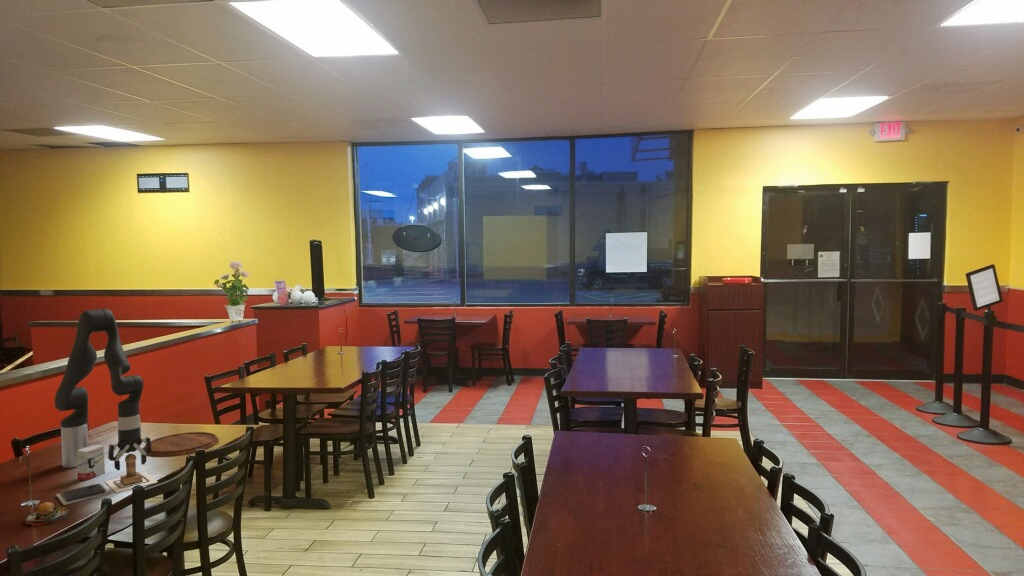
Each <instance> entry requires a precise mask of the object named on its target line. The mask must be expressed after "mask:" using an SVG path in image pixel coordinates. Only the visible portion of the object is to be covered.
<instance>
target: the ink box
mask: <svg viewBox="0 0 1024 576" xmlns="http://www.w3.org/2000/svg"><path fill="white" fill-rule="evenodd" d="M105 467H106V464H105V445H100V444H99V445H98V444H91V445H90V446H89V445H88V447H86V448H83V449H80V450H78V451H77V467H76V472H77V480H79V481H80V480H82V481H89V480H91V479H94V478H96V477H100V476H101V475H103V474H106V468H105Z"/></svg>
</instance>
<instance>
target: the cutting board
mask: <svg viewBox="0 0 1024 576" xmlns="http://www.w3.org/2000/svg"><path fill="white" fill-rule="evenodd" d="M150 441H151V450H152V451H151V452H150V453H147V454H146V457H147V456H148V457H156V458H167V457H168V458H170V457H180V456H185V455H186V456H187V455H191V454H195V453H194V452H195V450H196V449H199V448H202V449H205V450H204V451H206V450H209V449H211V448H214V447H215V446H217V445H218V444H219V443H220V438H219V437H218V436H217V435H216V434H215V433H211V432H205V431H189V432H181V433H174V434H169V435H165V436H162V437H161V436H160V437H158V438H155V439H152V440H150ZM142 449H143V450H146V444H145V445H144V447H142Z"/></svg>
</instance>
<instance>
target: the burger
mask: <svg viewBox="0 0 1024 576" xmlns="http://www.w3.org/2000/svg"><path fill="white" fill-rule="evenodd" d="M69 516H70V508H69V507H65V506H61V505H57V506H56V507H55V505H54V503H53V502H50V501H46V502H45V501H43V503H41V504H40V505H38V507H37V511H35V512H32V513H30V514H29V515H27V516H25V520H24V522H25V525H31V526H32V527H36V526H44V525H45V526H46V525H49V524H50V525H51V524H55V523H58V522H60V521H61V520H64V519H66V518H67V517H69Z"/></svg>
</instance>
